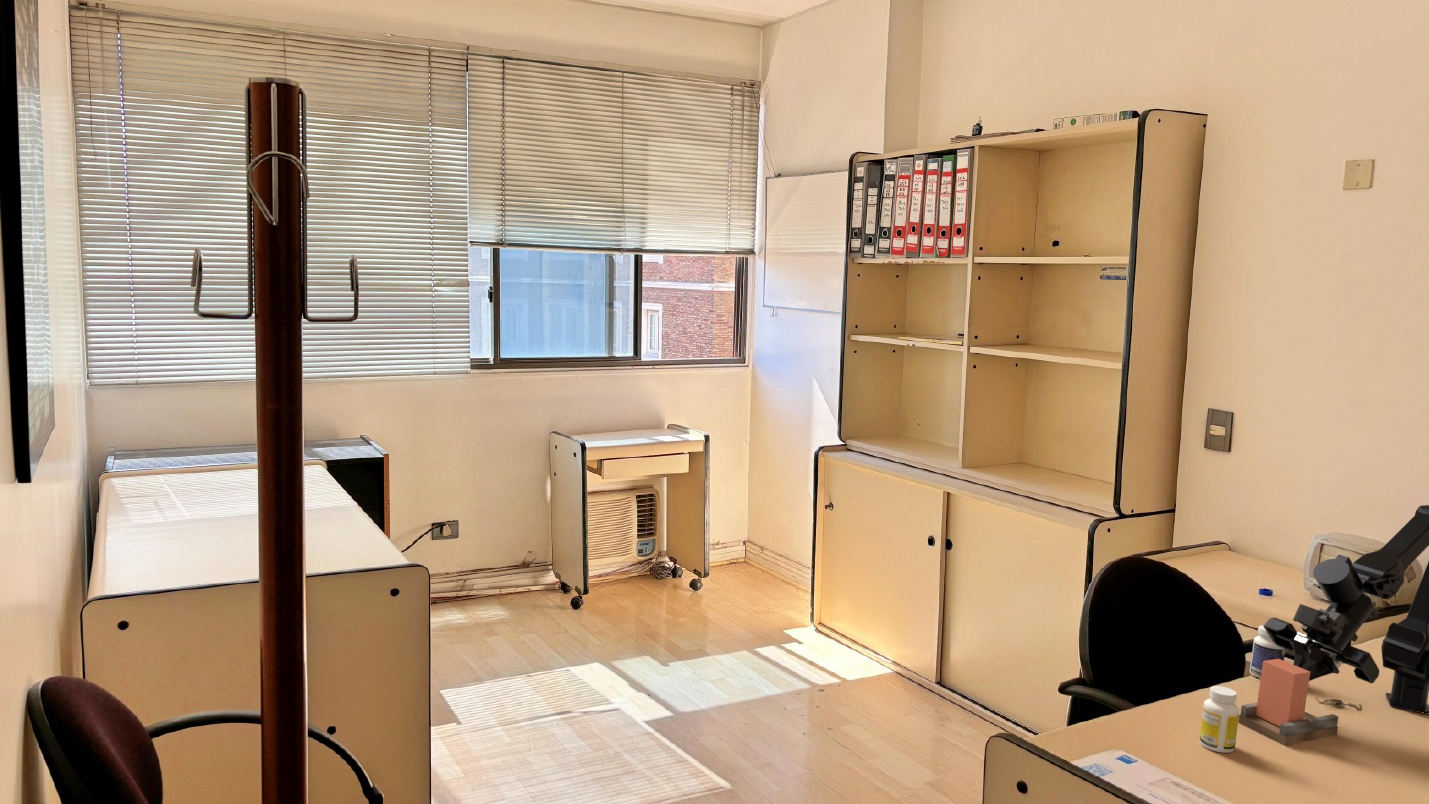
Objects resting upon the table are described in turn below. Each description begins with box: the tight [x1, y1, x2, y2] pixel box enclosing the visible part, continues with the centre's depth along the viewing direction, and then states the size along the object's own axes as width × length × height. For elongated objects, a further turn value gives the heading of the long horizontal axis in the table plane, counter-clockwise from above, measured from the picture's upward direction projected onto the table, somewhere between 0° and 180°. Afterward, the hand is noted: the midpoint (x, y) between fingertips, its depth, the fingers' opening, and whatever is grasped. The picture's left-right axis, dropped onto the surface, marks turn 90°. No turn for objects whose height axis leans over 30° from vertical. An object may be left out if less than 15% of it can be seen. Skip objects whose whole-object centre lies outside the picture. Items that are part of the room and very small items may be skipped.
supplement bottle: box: [1199, 685, 1240, 754], centre depth 169 cm, size 5×5×10 cm
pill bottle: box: [1249, 624, 1287, 680], centre depth 202 cm, size 6×6×10 cm
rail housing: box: [1238, 702, 1339, 746], centre depth 178 cm, size 14×9×4 cm, turn 114°
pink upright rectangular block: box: [1256, 659, 1310, 727], centre depth 177 cm, size 4×6×10 cm, turn 24°
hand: (1292, 684), depth 177 cm, fingers closed, pressing on pink upright rectangular block
